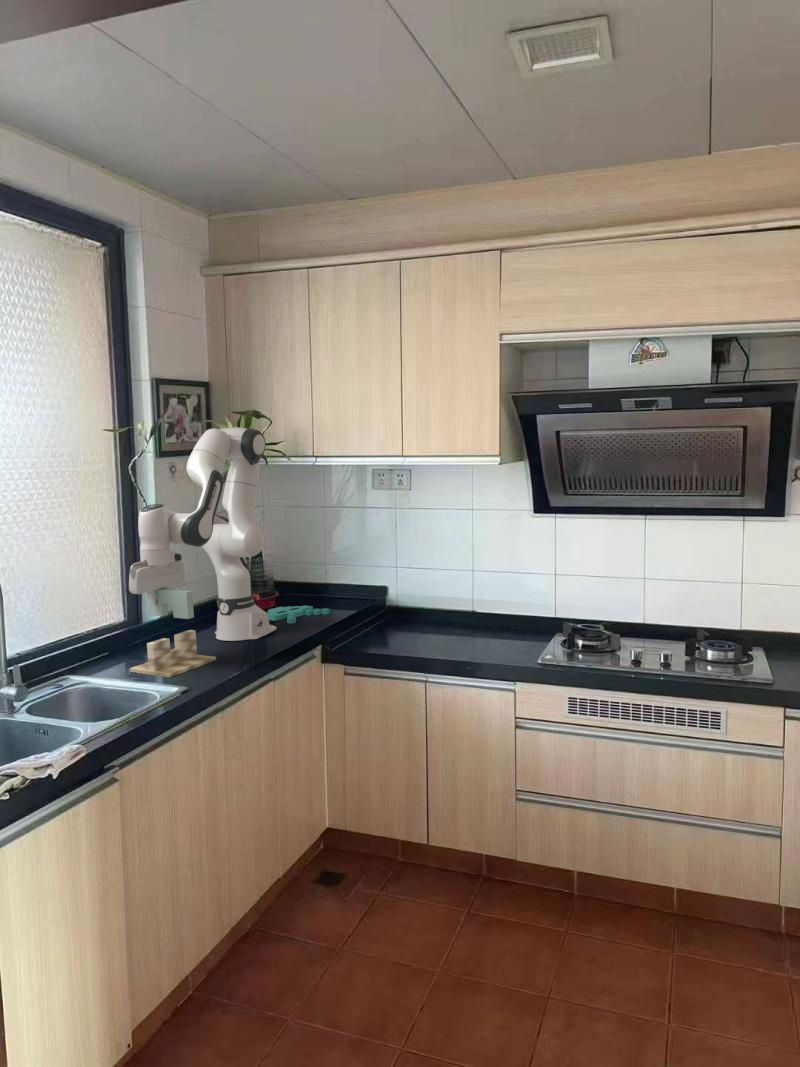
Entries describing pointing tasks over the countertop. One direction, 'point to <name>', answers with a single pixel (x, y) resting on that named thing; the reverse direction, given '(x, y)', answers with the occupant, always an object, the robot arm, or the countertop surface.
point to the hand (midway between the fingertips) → (159, 603)
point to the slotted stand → (172, 656)
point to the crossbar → (178, 598)
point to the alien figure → (293, 612)
